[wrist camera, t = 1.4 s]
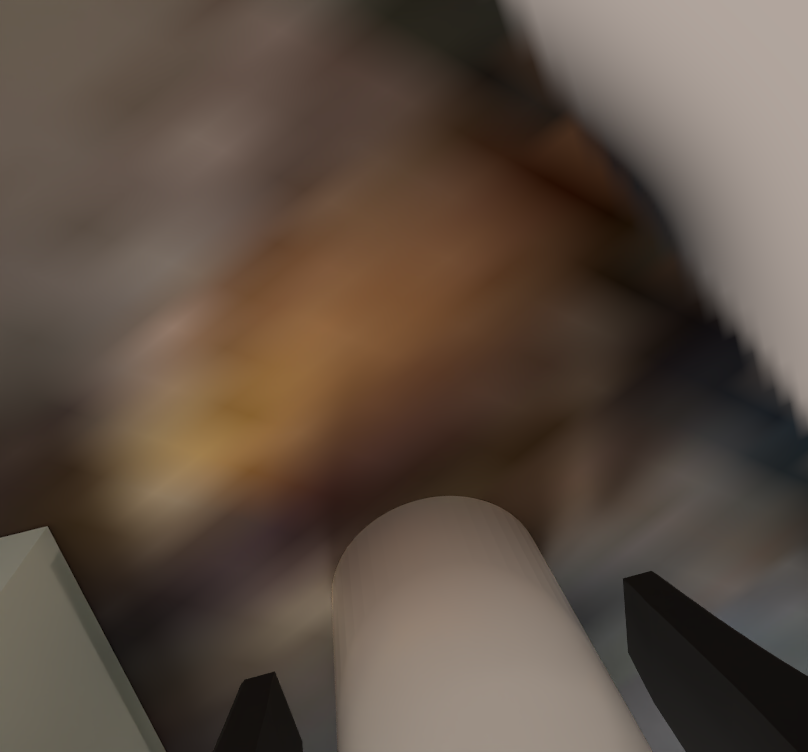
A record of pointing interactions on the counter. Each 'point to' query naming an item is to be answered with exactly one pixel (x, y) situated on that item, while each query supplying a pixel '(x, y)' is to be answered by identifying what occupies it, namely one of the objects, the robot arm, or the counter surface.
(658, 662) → the robot arm
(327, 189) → the counter surface
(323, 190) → the counter surface
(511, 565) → the white canister
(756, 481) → the counter surface
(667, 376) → the counter surface
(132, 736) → the tote
